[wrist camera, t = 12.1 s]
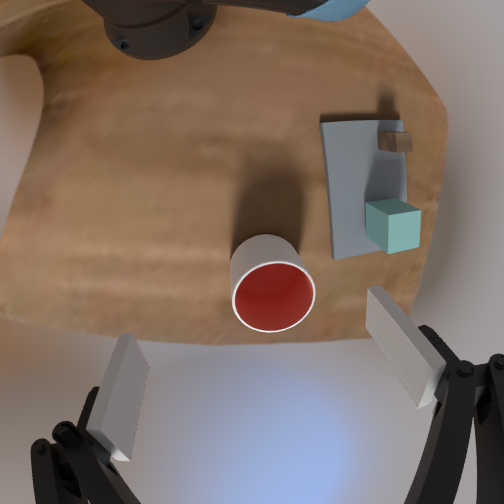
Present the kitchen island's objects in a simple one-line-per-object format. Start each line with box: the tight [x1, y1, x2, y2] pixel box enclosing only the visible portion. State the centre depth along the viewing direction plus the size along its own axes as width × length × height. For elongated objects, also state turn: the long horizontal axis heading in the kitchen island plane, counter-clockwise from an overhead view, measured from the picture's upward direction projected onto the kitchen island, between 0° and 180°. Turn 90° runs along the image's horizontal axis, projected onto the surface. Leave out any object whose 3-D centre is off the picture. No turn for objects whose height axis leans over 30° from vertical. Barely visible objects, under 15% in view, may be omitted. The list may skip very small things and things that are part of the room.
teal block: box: [365, 198, 421, 254], centre depth 37 cm, size 5×5×7 cm
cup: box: [230, 234, 315, 332], centre depth 39 cm, size 10×10×10 cm
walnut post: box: [377, 131, 412, 153], centre depth 34 cm, size 3×3×5 cm
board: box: [319, 120, 407, 260], centre depth 40 cm, size 20×13×1 cm, turn 9°
